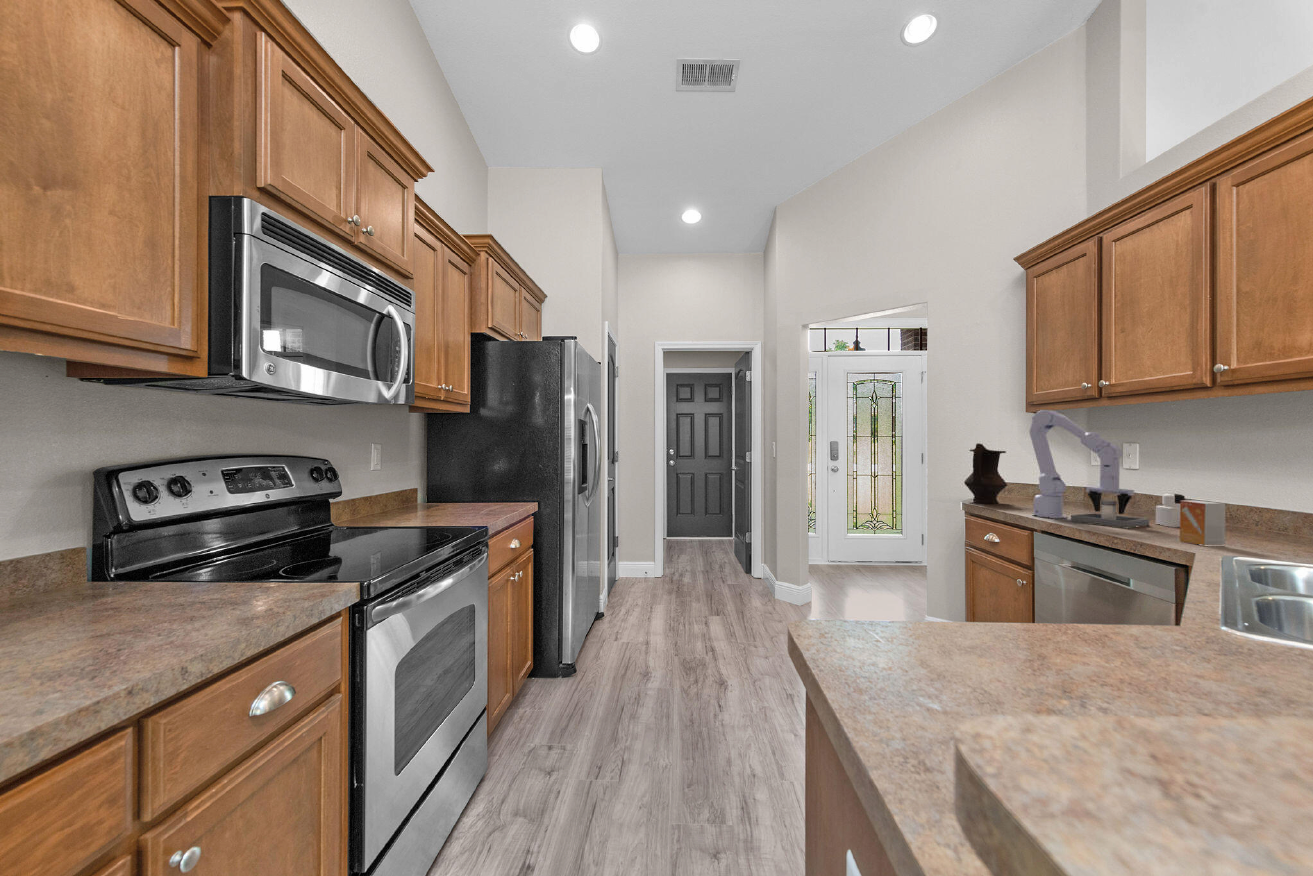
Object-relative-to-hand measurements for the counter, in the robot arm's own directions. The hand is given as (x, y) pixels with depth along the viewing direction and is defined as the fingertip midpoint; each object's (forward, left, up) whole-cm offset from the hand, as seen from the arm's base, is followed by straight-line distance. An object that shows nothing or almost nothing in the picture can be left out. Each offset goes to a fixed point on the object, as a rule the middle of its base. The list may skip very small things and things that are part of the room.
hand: (1109, 512), depth 208 cm
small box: (+34, -22, -4) cm, 41 cm away
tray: (0, 0, -4) cm, 4 cm away
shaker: (0, 0, -3) cm, 3 cm away
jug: (-63, +22, -4) cm, 66 cm away
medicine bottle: (+13, +16, -4) cm, 21 cm away
